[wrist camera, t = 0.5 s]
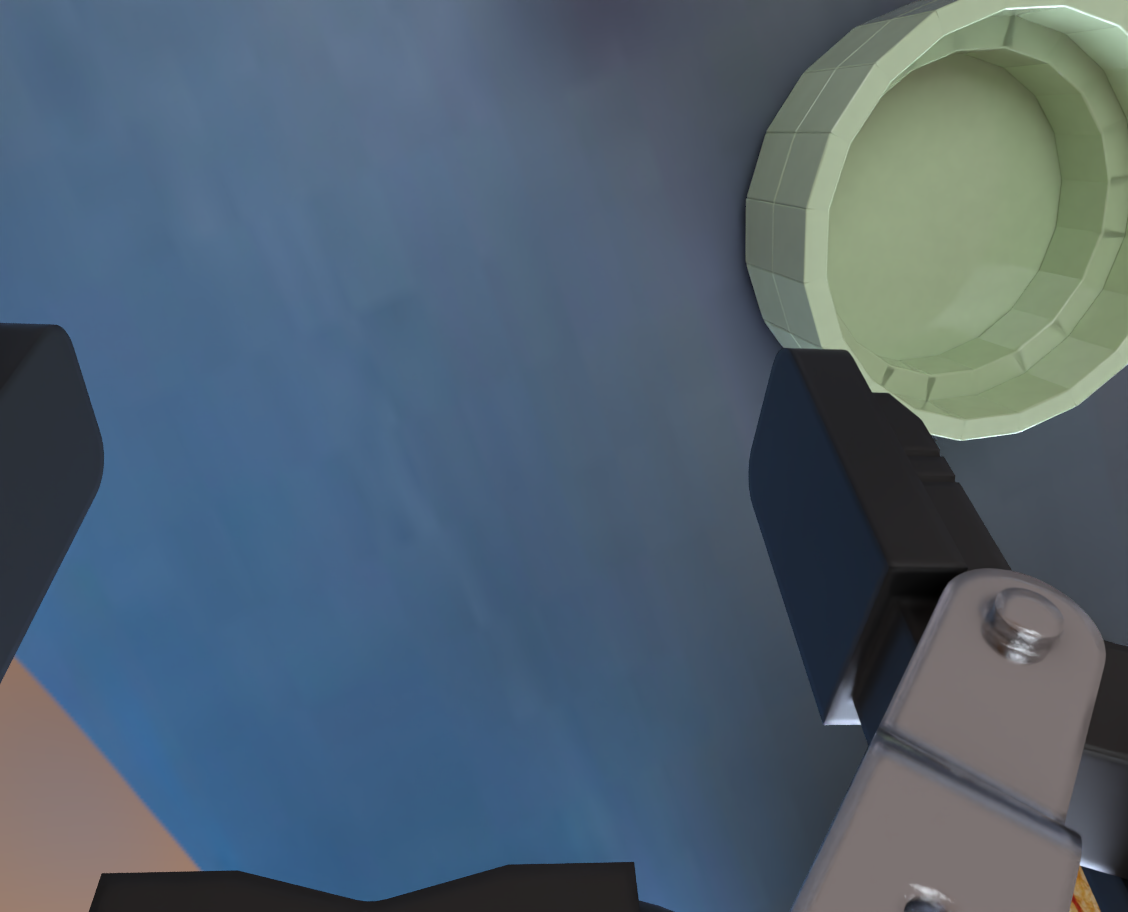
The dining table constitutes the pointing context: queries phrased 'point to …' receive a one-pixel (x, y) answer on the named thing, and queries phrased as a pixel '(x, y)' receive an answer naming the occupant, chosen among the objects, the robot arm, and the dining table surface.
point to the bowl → (956, 208)
